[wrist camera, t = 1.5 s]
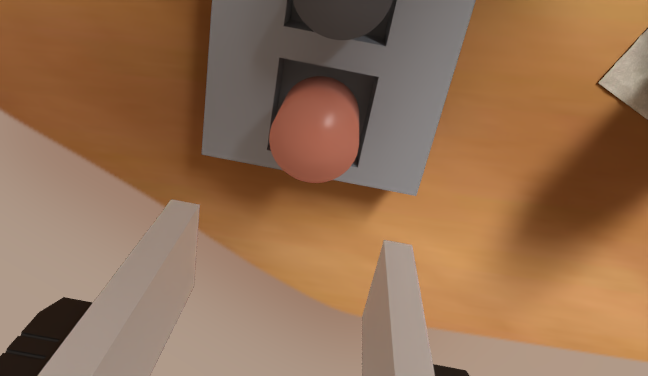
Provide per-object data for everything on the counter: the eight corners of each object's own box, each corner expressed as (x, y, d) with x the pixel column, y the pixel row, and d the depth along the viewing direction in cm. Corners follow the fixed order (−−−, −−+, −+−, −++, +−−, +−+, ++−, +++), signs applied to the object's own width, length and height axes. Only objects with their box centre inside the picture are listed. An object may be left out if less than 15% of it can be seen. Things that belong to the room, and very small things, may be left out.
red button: (288, 69, 24) (275, 90, 20) (366, 84, 24) (367, 108, 20) (277, 142, 26) (263, 173, 22) (350, 156, 26) (349, 190, 22)
